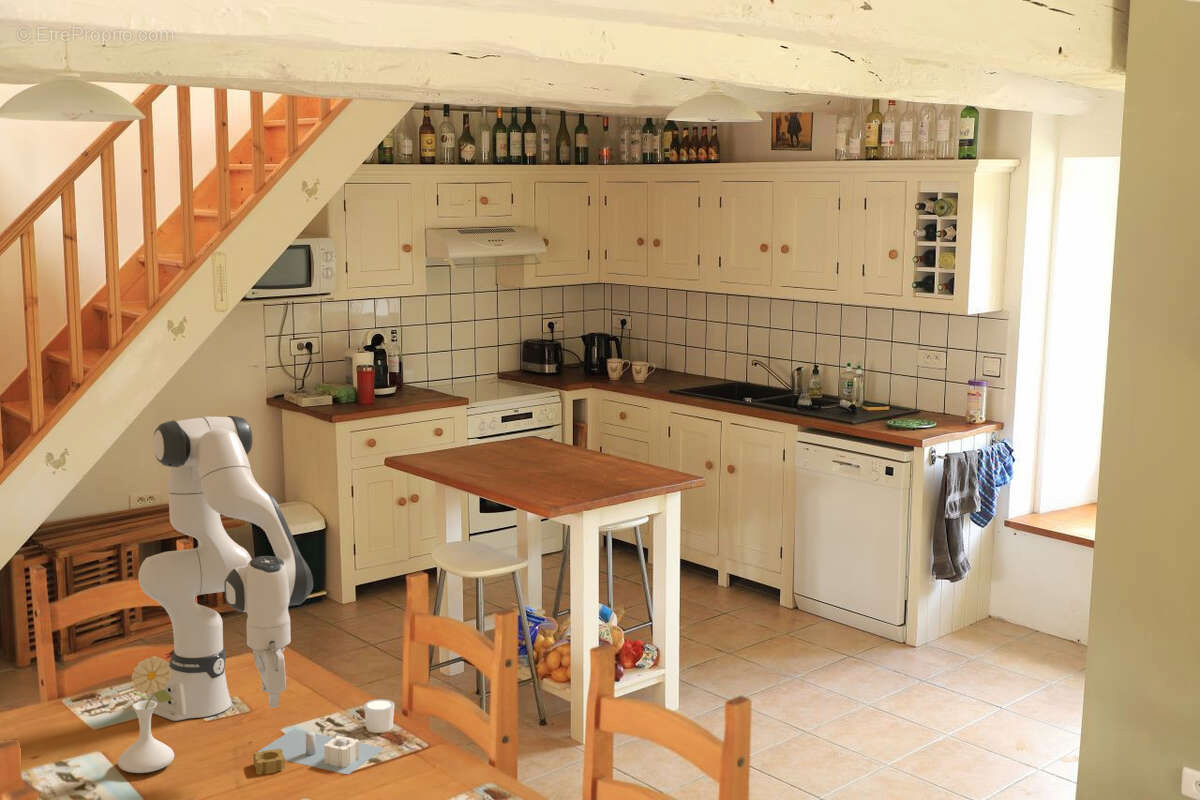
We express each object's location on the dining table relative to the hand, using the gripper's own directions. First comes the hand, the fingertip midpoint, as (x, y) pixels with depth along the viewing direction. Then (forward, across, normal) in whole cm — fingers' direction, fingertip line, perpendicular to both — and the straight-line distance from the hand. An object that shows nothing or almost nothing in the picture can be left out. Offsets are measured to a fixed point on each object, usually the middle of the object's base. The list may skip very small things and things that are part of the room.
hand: (270, 698), depth 251 cm
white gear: (+15, -2, -14) cm, 21 cm away
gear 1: (+17, 0, 0) cm, 17 cm away
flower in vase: (+16, +13, +24) cm, 31 cm away
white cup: (+17, +12, -26) cm, 33 cm away
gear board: (+16, +4, -11) cm, 20 cm away
